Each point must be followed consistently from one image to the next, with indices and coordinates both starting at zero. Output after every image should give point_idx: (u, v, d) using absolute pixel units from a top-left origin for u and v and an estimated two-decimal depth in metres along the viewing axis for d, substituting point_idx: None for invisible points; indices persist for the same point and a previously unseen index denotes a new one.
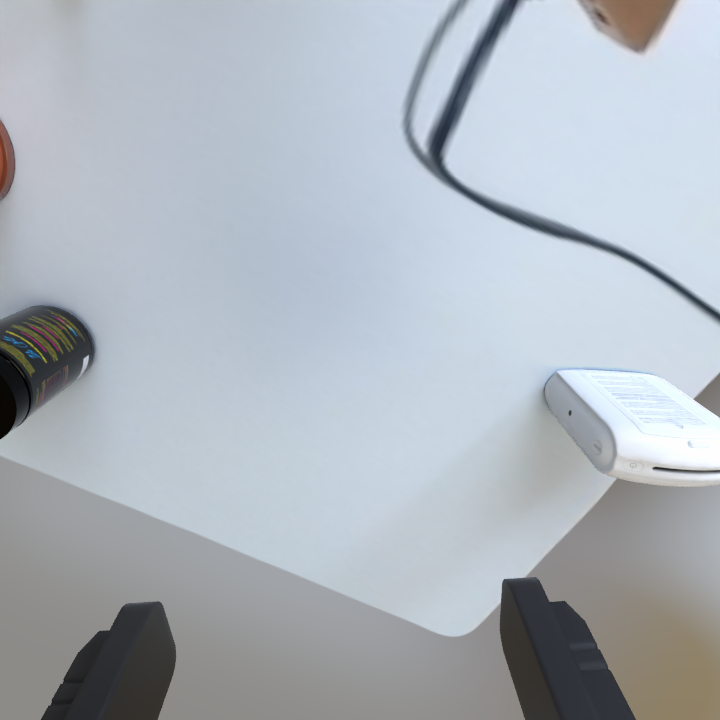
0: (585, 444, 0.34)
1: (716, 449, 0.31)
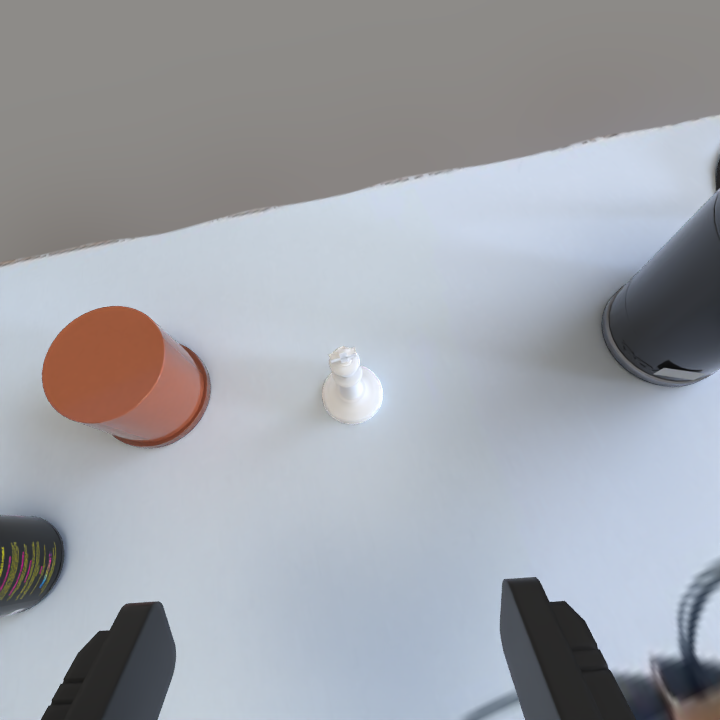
0: None
1: None
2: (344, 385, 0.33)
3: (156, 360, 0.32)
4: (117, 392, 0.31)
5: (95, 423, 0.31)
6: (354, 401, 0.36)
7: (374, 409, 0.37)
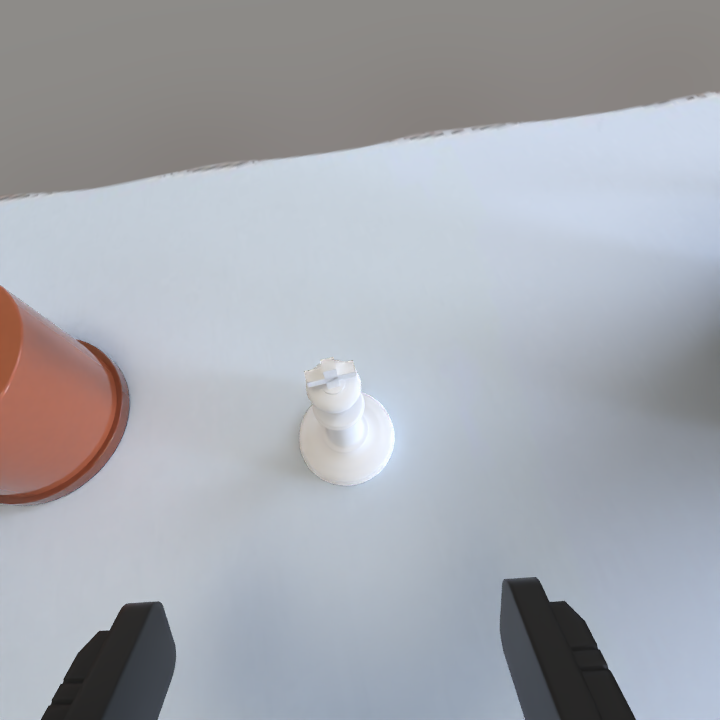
0: None
1: None
2: (332, 427, 0.19)
3: (2, 366, 0.18)
4: None
5: None
6: (348, 450, 0.23)
7: (380, 464, 0.23)
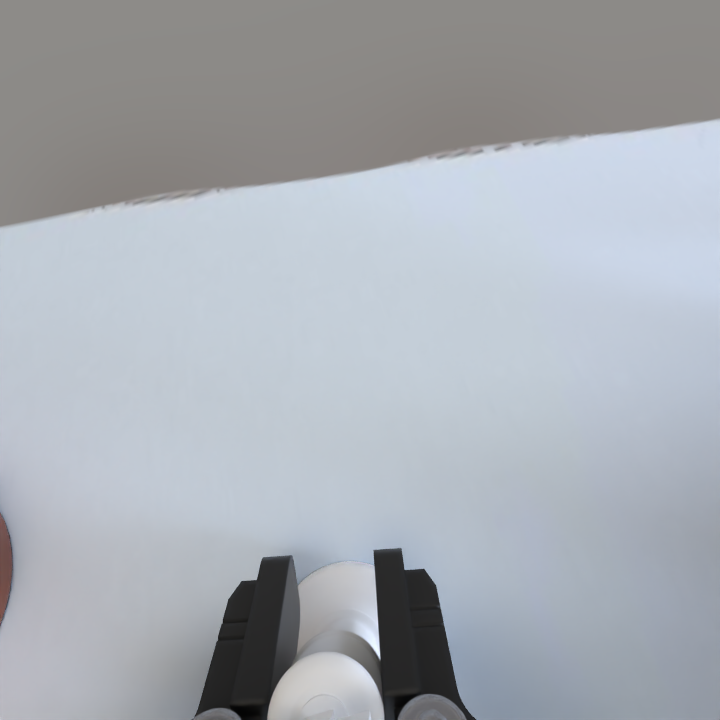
0: None
1: None
2: None
3: None
4: None
5: None
6: None
7: None
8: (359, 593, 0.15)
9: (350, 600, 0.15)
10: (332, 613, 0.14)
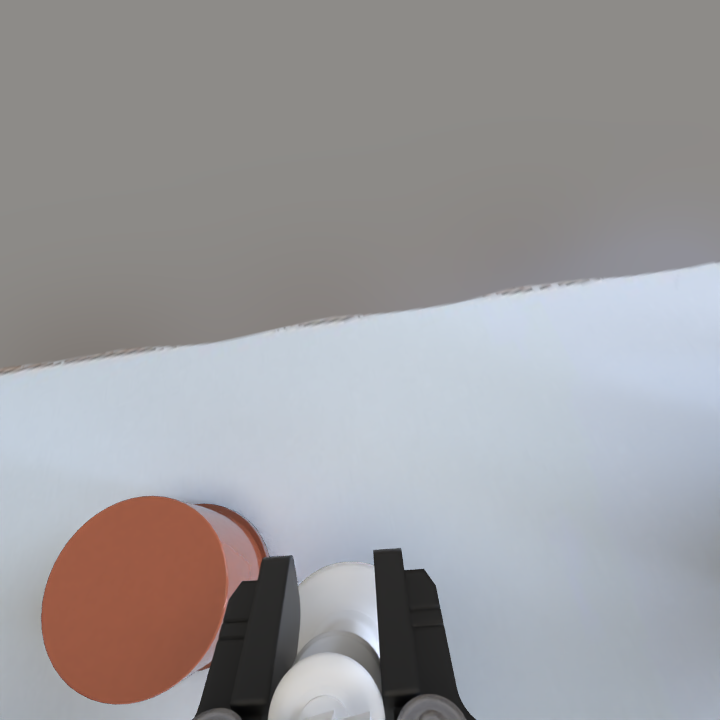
0: None
1: None
2: None
3: (214, 597, 0.21)
4: (153, 651, 0.20)
5: (117, 703, 0.20)
6: None
7: None
8: (360, 593, 0.15)
9: (351, 600, 0.15)
10: (333, 613, 0.14)
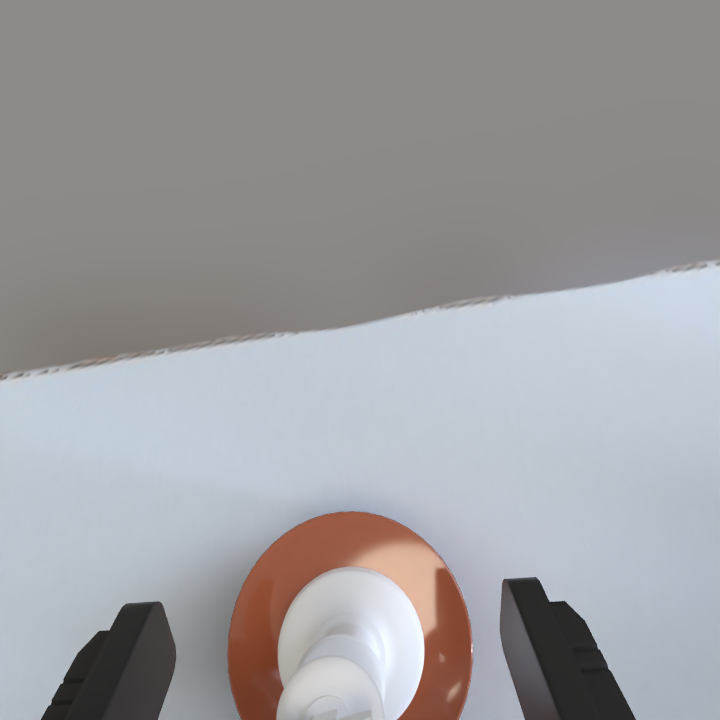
0: None
1: None
2: None
3: (456, 646, 0.16)
4: None
5: None
6: None
7: (404, 707, 0.15)
8: (360, 598, 0.16)
9: (351, 604, 0.15)
10: (334, 617, 0.15)
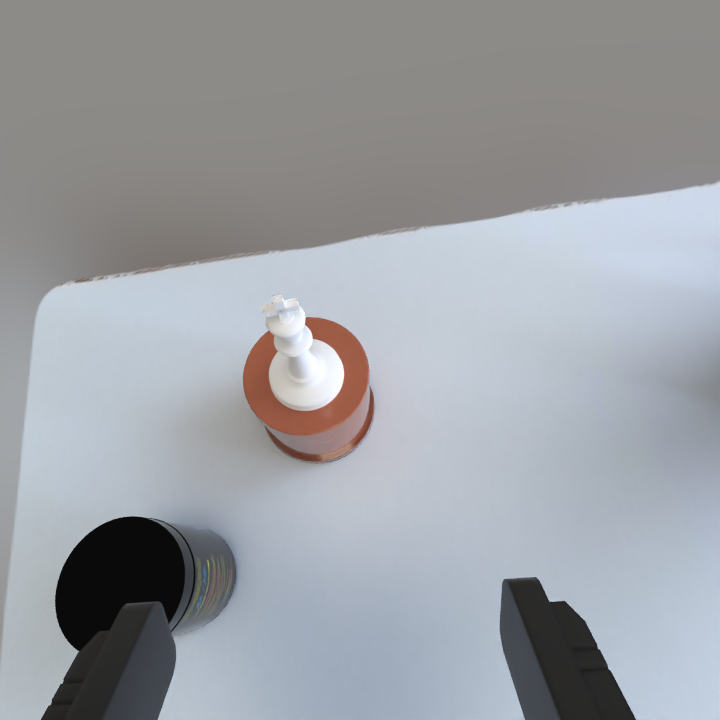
0: None
1: None
2: (287, 354, 0.26)
3: (360, 374, 0.31)
4: None
5: (303, 435, 0.30)
6: (305, 381, 0.29)
7: (331, 393, 0.30)
8: (310, 347, 0.31)
9: None
10: None
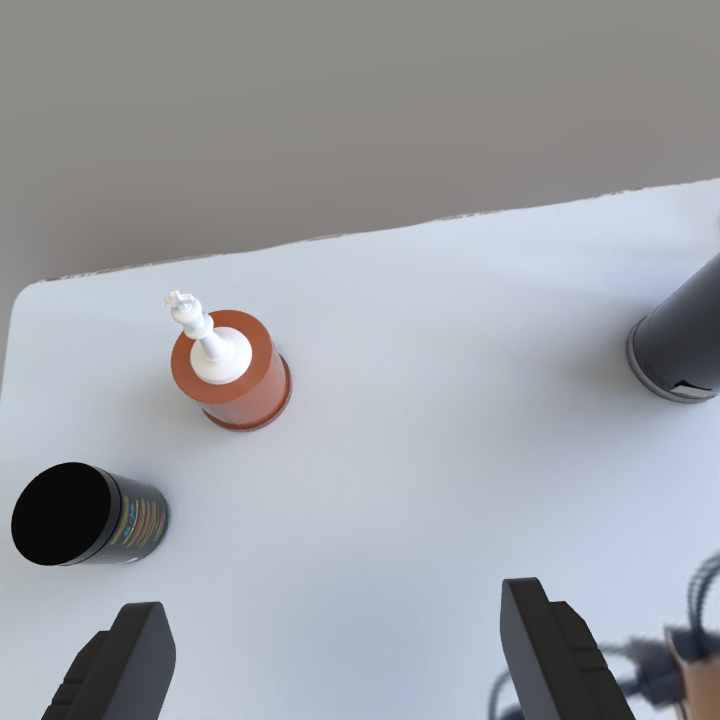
0: None
1: None
2: (192, 336, 0.33)
3: (265, 356, 0.39)
4: None
5: (215, 404, 0.37)
6: (216, 360, 0.37)
7: (238, 370, 0.37)
8: (224, 333, 0.38)
9: (220, 335, 0.38)
10: None
